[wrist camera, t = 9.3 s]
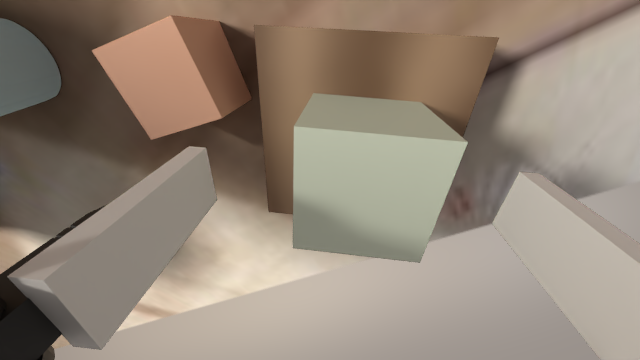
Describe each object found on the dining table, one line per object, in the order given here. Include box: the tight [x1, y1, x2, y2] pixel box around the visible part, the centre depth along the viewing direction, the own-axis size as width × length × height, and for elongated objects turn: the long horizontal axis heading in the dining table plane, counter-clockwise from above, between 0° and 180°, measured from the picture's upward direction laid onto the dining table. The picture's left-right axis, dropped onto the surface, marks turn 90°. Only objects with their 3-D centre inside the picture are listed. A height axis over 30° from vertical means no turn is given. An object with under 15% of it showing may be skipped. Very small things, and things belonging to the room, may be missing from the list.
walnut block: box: [254, 25, 499, 214], centre depth 17 cm, size 12×12×4 cm
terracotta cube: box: [91, 15, 252, 140], centre depth 15 cm, size 5×5×5 cm
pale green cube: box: [293, 93, 468, 263], centre depth 12 cm, size 6×6×6 cm
